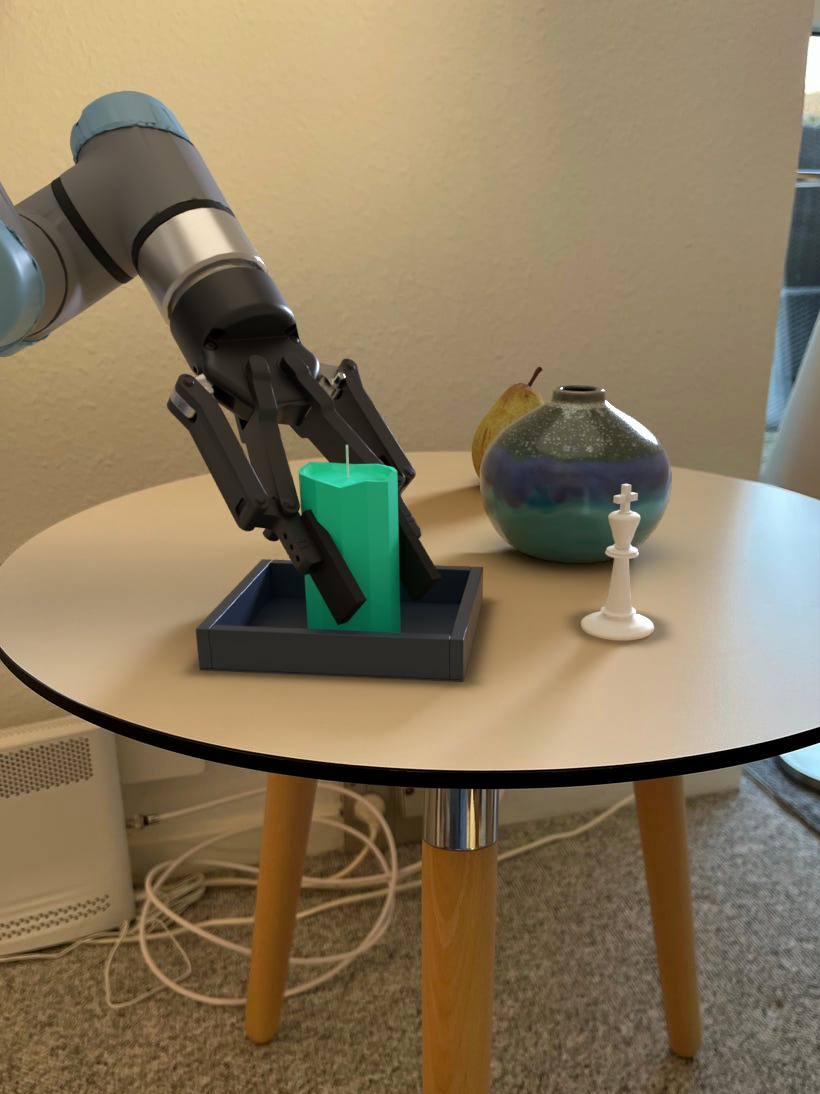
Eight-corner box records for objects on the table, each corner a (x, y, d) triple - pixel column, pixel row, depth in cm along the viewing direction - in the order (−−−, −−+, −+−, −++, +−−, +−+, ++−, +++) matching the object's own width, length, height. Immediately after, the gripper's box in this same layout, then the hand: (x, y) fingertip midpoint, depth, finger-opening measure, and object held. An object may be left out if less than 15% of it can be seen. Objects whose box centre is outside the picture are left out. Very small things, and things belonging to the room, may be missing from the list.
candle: (287, 636, 64) (274, 447, 60) (346, 609, 69) (339, 432, 65) (362, 656, 61) (355, 459, 57) (419, 626, 66) (416, 442, 62)
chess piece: (563, 630, 67) (570, 482, 64) (617, 615, 70) (626, 472, 66) (616, 653, 64) (626, 498, 60) (670, 636, 67) (683, 487, 63)
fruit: (463, 493, 102) (463, 371, 98) (482, 474, 111) (484, 361, 106) (548, 499, 101) (552, 375, 96) (561, 479, 109) (566, 364, 104)
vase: (705, 563, 81) (722, 394, 76) (547, 594, 74) (554, 410, 69) (590, 519, 94) (598, 371, 89) (444, 542, 86) (444, 382, 81)
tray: (199, 677, 60) (194, 628, 59) (264, 600, 72) (261, 558, 71) (463, 689, 59) (463, 639, 57) (482, 608, 71) (483, 566, 70)
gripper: (311, 333, 75) (467, 596, 70) (72, 351, 63) (240, 670, 58) (354, 258, 70) (525, 538, 65) (100, 262, 58) (289, 606, 53)
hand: (390, 600), depth 62 cm, fingers open, 5 cm apart
